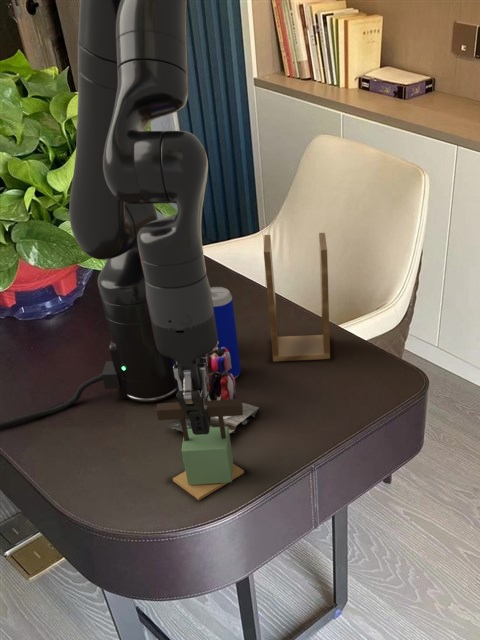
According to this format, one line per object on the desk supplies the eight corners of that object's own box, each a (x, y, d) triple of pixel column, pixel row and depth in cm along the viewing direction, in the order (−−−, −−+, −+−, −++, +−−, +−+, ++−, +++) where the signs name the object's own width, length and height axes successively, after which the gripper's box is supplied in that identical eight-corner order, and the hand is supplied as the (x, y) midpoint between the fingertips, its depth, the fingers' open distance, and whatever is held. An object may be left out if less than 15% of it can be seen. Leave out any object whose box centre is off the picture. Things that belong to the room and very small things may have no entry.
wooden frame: (273, 361, 126) (263, 251, 114) (273, 341, 132) (264, 234, 119) (330, 359, 127) (327, 249, 114) (328, 339, 132) (324, 232, 119)
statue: (212, 404, 118) (205, 317, 110) (259, 419, 115) (256, 330, 107) (167, 432, 110) (157, 341, 102) (217, 449, 107) (210, 356, 98)
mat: (199, 500, 98) (198, 497, 98) (172, 481, 102) (172, 478, 101) (244, 473, 103) (243, 470, 103) (217, 455, 106) (217, 452, 106)
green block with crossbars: (169, 486, 100) (154, 418, 92) (173, 463, 103) (159, 396, 96) (249, 481, 100) (240, 413, 93) (250, 458, 104) (242, 391, 97)
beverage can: (244, 367, 125) (234, 286, 115) (237, 383, 121) (227, 301, 111) (214, 365, 125) (203, 285, 116) (207, 382, 121) (194, 300, 112)
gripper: (156, 286, 91) (178, 401, 102) (142, 341, 80) (168, 461, 91) (216, 284, 91) (232, 398, 102) (209, 337, 81) (228, 458, 92)
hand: (202, 427), depth 97 cm, fingers closed on green block with crossbars
